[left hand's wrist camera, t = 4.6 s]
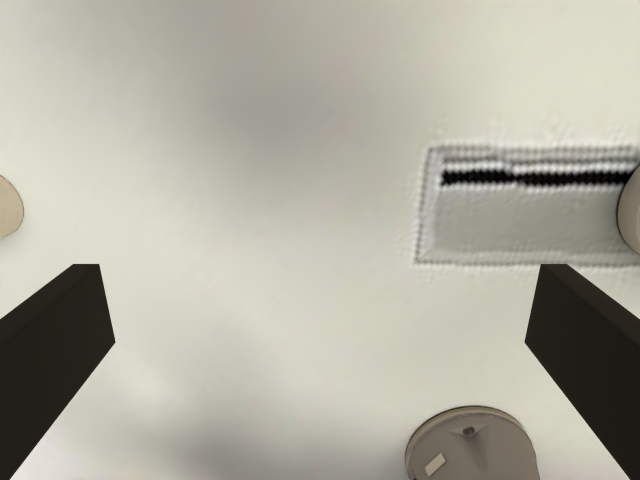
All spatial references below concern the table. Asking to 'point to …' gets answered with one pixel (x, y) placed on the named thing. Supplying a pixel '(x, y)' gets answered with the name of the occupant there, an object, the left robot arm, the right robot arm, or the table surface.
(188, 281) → the table surface
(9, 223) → the bottle
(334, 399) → the table surface
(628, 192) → the bust sculpture
